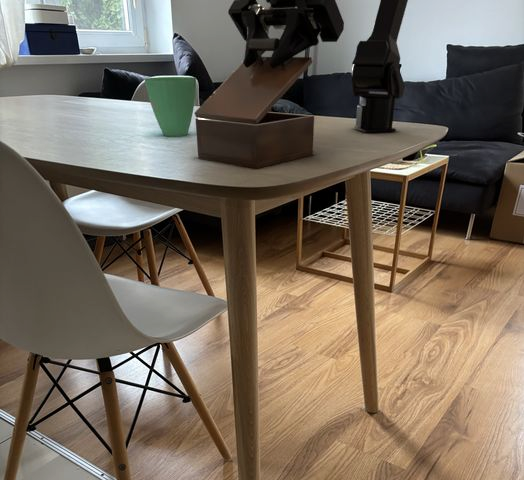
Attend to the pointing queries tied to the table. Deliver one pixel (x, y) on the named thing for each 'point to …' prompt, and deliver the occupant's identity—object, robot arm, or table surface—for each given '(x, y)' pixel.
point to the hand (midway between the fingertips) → (257, 65)
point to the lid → (253, 86)
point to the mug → (172, 103)
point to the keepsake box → (256, 140)
